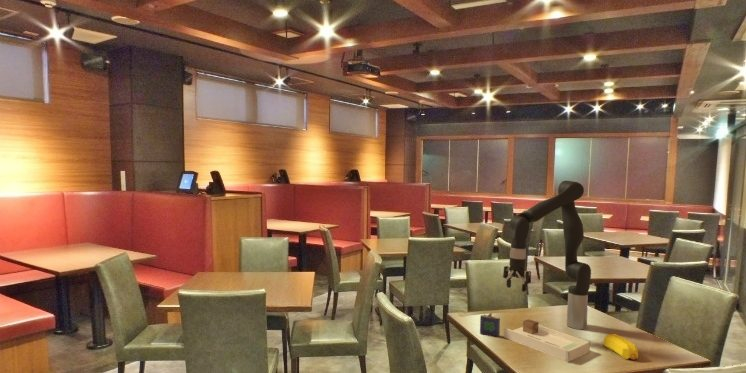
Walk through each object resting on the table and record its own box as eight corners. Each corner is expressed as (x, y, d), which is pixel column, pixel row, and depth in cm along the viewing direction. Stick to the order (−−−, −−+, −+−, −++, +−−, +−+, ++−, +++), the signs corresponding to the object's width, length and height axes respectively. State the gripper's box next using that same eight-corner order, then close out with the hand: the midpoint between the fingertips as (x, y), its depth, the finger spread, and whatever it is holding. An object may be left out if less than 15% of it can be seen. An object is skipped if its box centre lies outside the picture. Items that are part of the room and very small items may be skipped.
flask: (499, 335, 212) (500, 313, 212) (499, 337, 210) (499, 315, 209) (480, 332, 216) (480, 310, 215) (479, 334, 213) (479, 312, 213)
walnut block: (528, 329, 216) (529, 318, 216) (538, 332, 212) (538, 322, 212) (522, 331, 213) (523, 321, 213) (532, 334, 209) (532, 324, 209)
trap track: (526, 329, 221) (526, 320, 220) (589, 351, 195) (590, 341, 195) (503, 337, 210) (504, 328, 210) (567, 362, 184) (568, 351, 184)
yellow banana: (626, 362, 186) (643, 361, 187) (627, 346, 186) (643, 346, 187) (598, 345, 204) (614, 344, 205) (599, 330, 203) (614, 330, 205)
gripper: (535, 258, 214) (533, 291, 215) (510, 253, 226) (508, 285, 226) (526, 260, 210) (524, 294, 211) (501, 255, 221) (499, 287, 222)
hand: (516, 289), depth 219 cm, fingers open, 8 cm apart
